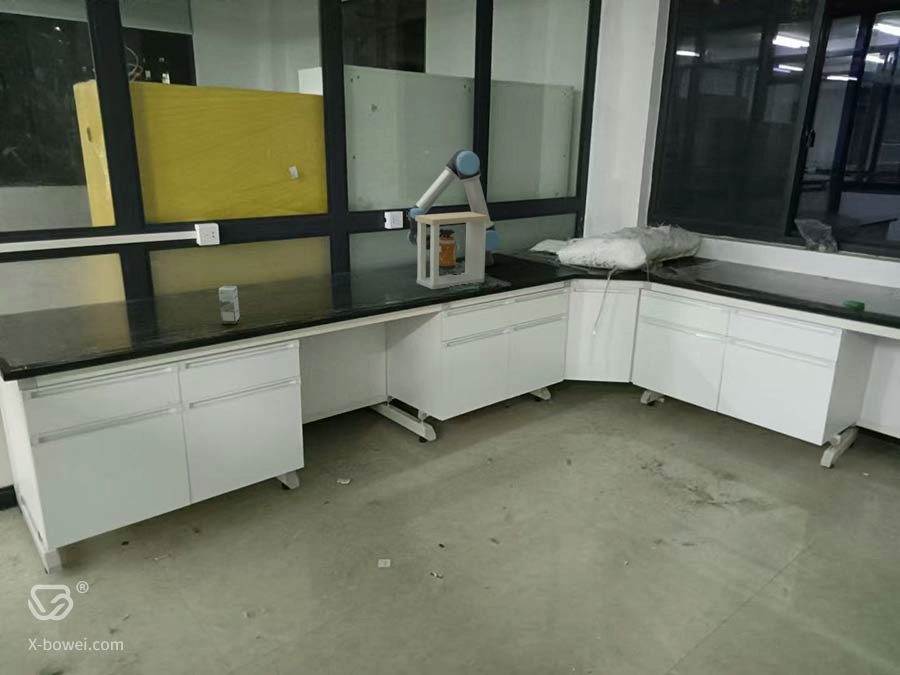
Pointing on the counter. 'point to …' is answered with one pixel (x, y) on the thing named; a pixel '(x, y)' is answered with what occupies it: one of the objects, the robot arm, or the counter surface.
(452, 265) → the canister
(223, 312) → the syrup box
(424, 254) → the under-counter shelf
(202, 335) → the counter surface
